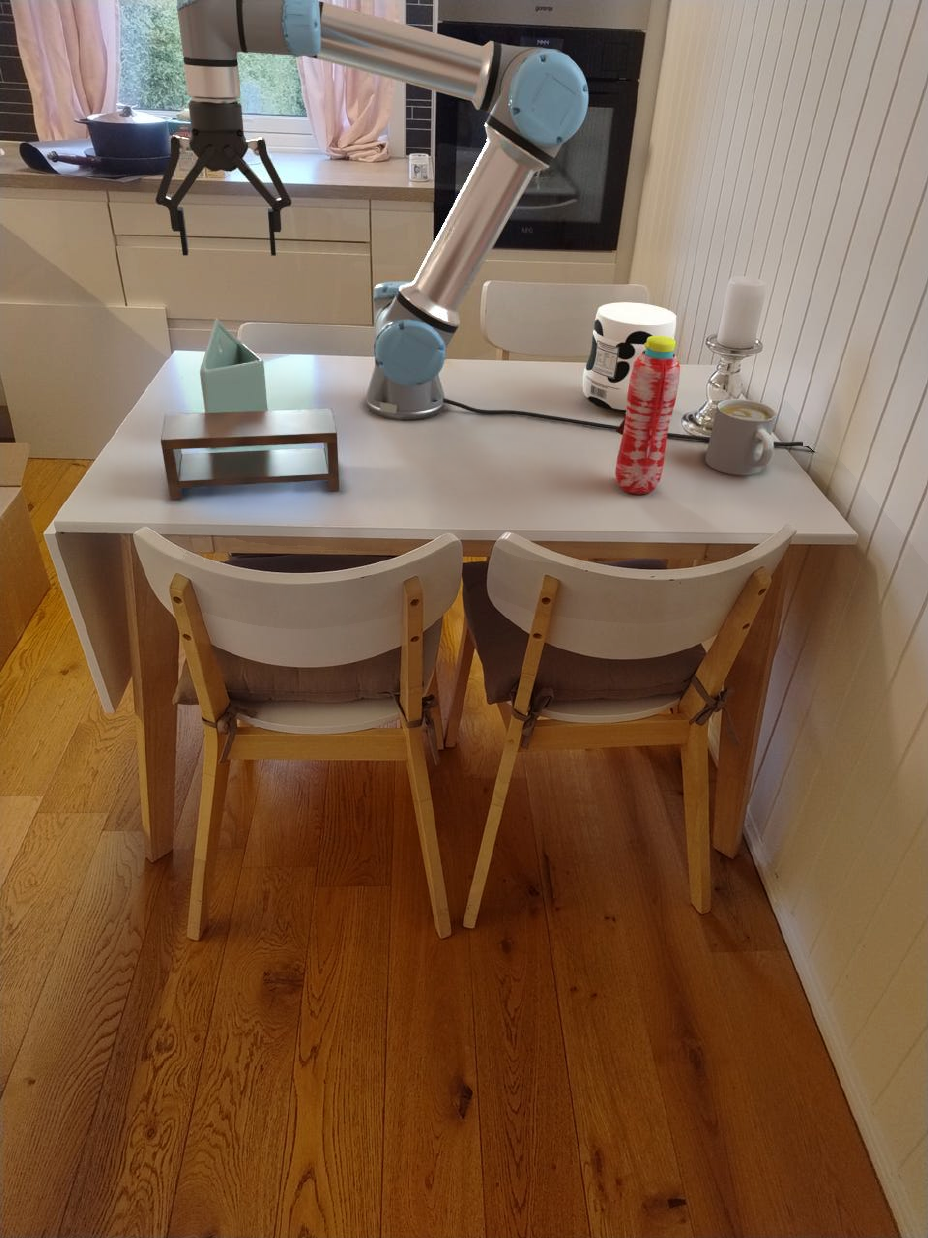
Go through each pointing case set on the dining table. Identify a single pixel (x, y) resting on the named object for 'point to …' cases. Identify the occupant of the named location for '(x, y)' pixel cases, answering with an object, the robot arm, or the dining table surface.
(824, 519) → the dining table surface
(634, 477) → the water bottle
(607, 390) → the milk container
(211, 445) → the shelf
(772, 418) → the coffee mug
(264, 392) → the planter
